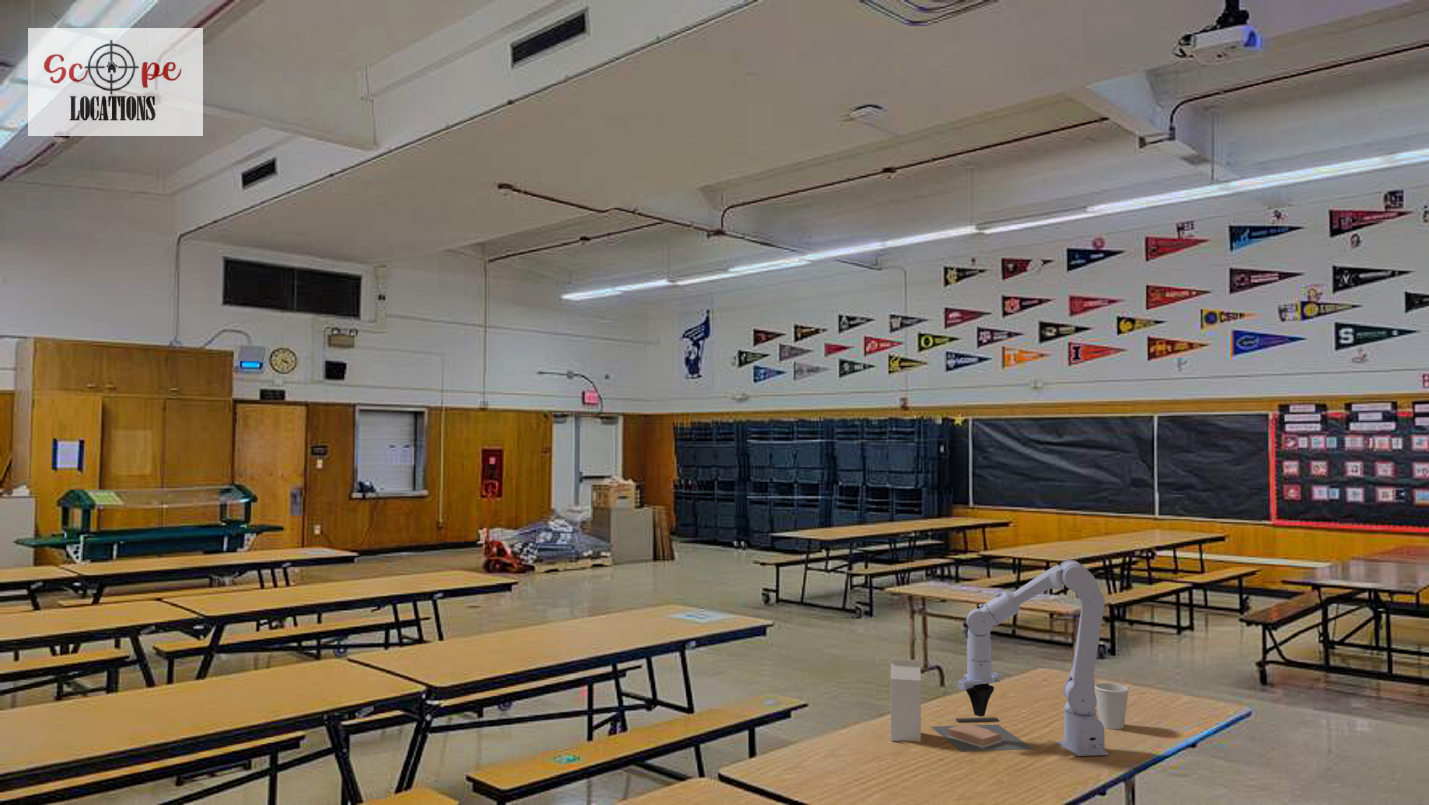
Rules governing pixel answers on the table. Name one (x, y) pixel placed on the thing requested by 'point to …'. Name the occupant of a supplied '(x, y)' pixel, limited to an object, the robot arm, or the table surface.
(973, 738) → the tile
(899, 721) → the milk carton
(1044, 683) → the table surface
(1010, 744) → the mat
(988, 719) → the turner
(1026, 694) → the table surface
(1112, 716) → the dixie cup
